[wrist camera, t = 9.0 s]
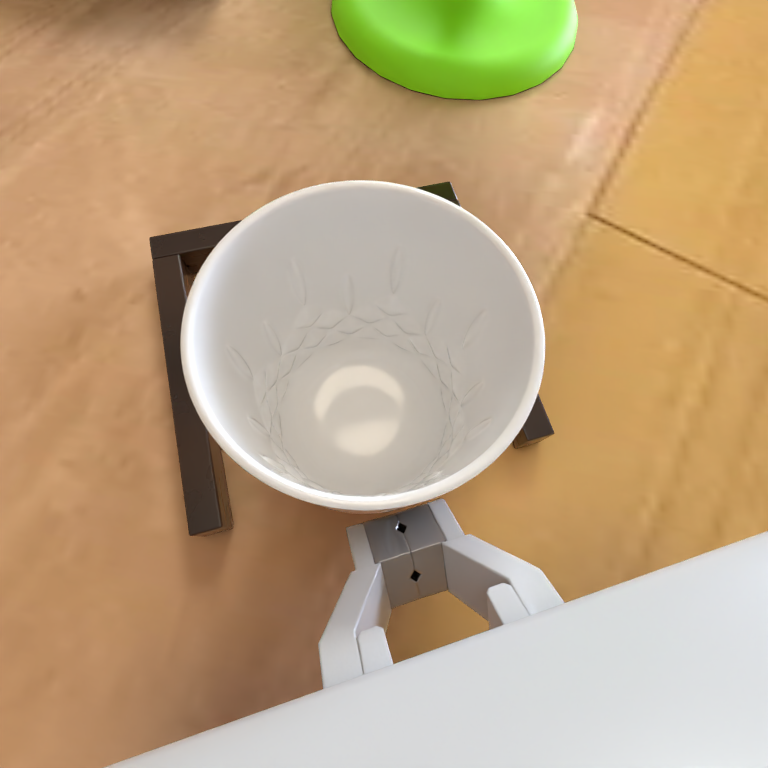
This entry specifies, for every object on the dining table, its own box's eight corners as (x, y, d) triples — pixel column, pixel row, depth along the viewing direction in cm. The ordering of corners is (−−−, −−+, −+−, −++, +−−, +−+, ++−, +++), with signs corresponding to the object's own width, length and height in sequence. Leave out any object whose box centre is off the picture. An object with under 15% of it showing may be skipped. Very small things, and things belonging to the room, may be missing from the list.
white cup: (401, 564, 17) (453, 591, 8) (232, 467, 18) (97, 387, 9) (482, 396, 20) (594, 266, 10) (330, 318, 21) (306, 133, 11)
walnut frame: (540, 441, 19) (555, 433, 18) (203, 537, 17) (188, 536, 16) (444, 203, 23) (450, 180, 22) (163, 258, 21) (148, 236, 20)
